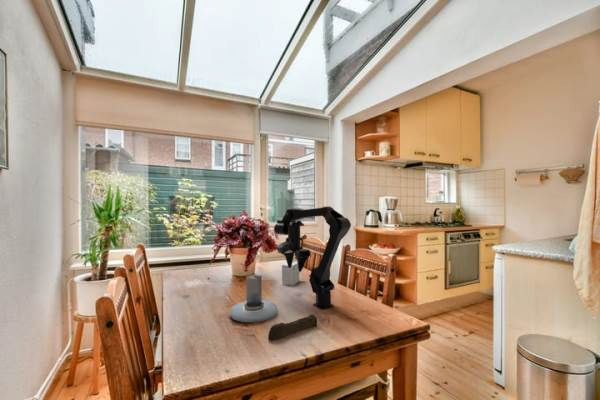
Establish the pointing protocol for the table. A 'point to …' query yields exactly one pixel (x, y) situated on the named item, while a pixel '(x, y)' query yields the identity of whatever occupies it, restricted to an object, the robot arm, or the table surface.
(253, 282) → the dark grey cylinder
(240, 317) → the turntable
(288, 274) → the light bulb box
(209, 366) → the table surface
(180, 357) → the table surface
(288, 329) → the hand tool
